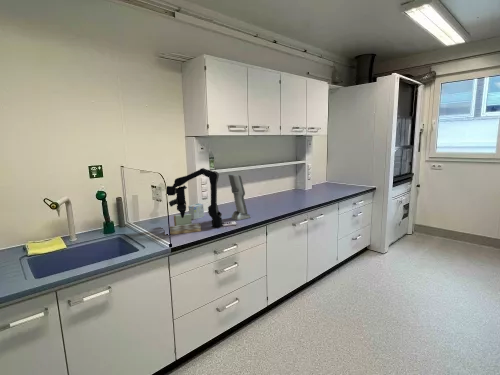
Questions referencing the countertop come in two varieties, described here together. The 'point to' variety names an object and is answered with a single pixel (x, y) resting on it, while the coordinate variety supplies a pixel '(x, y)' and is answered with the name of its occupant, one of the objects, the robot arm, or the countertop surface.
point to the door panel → (182, 220)
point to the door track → (185, 228)
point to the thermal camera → (238, 197)
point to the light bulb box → (196, 211)
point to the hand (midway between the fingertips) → (182, 216)
